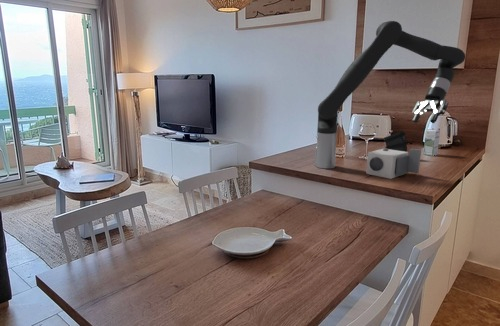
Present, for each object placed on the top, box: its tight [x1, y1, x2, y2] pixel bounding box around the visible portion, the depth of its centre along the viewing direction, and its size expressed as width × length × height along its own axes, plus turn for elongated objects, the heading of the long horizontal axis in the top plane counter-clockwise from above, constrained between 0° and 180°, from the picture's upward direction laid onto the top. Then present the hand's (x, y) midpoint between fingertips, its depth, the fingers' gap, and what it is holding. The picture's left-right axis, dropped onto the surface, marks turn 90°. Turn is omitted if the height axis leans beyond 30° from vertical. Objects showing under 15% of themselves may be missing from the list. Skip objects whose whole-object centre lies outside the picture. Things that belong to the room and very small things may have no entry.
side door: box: [396, 148, 422, 177], centre depth 151 cm, size 6×10×11 cm, turn 130°
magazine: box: [383, 130, 409, 152], centre depth 191 cm, size 4×13×15 cm, turn 35°
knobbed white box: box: [365, 147, 409, 180], centre depth 158 cm, size 12×15×11 cm
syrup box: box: [423, 128, 441, 157], centre depth 198 cm, size 6×6×14 cm
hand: (423, 122), depth 151 cm, fingers open, 8 cm apart
